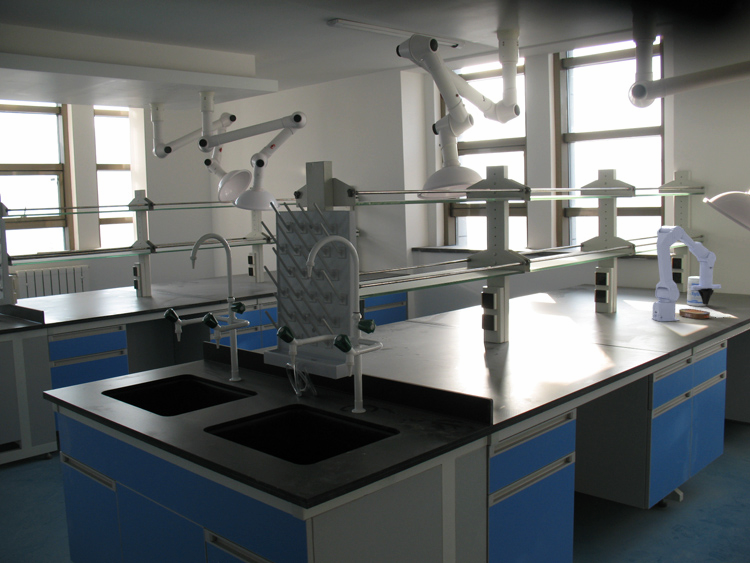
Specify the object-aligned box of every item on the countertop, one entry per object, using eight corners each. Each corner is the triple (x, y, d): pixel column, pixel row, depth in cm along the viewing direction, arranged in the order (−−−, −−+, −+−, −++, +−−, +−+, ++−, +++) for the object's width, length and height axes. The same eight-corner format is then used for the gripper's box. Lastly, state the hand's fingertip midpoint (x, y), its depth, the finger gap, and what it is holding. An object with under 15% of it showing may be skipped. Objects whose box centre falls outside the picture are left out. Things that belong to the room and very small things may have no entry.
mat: (716, 317, 316) (716, 317, 316) (697, 312, 331) (697, 312, 331) (730, 317, 317) (730, 316, 317) (711, 311, 331) (711, 311, 331)
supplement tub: (691, 306, 348) (692, 278, 346) (683, 303, 357) (684, 276, 355) (710, 306, 347) (711, 277, 345) (702, 303, 357) (703, 275, 355)
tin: (714, 312, 315) (700, 313, 312) (713, 319, 316) (700, 319, 312) (688, 308, 329) (675, 308, 326) (687, 314, 329) (674, 315, 326)
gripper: (696, 277, 316) (696, 306, 318) (725, 276, 318) (724, 304, 319) (688, 276, 323) (687, 304, 325) (716, 274, 325) (715, 302, 326)
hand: (705, 304), depth 322 cm, fingers closed
